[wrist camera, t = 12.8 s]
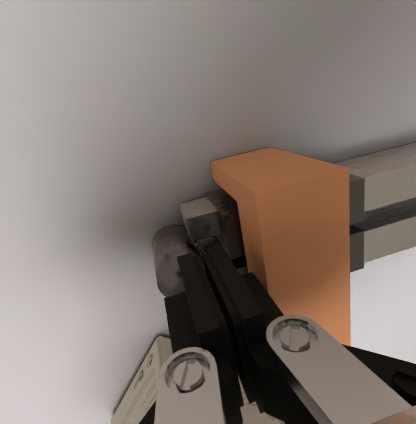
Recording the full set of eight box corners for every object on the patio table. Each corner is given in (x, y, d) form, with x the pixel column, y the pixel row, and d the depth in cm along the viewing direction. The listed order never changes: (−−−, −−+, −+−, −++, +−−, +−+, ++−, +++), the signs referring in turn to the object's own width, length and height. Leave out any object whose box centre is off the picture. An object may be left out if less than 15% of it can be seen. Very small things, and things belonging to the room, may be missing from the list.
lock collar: (234, 291, 16) (279, 374, 11) (209, 161, 13) (254, 192, 8) (284, 275, 16) (350, 348, 11) (271, 146, 14) (348, 167, 9)
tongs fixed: (158, 266, 15) (164, 307, 12) (141, 208, 13) (143, 237, 10) (472, 177, 17) (542, 191, 14) (480, 123, 16) (558, 126, 13)
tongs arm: (196, 279, 15) (210, 317, 12) (188, 246, 14) (201, 279, 12) (474, 195, 18) (537, 212, 15) (479, 165, 17) (546, 176, 14)
